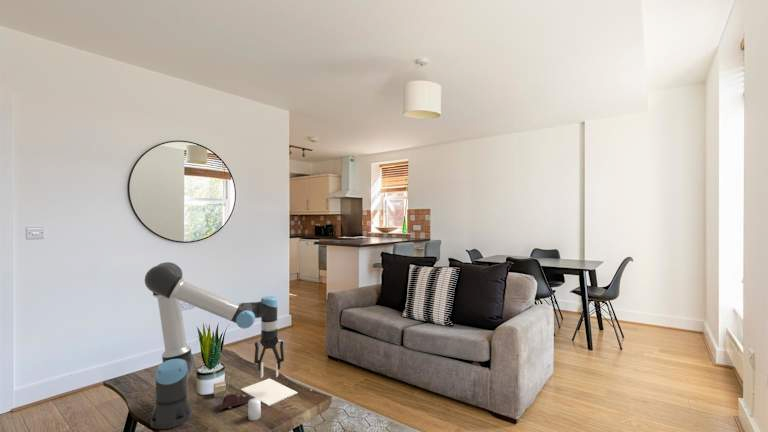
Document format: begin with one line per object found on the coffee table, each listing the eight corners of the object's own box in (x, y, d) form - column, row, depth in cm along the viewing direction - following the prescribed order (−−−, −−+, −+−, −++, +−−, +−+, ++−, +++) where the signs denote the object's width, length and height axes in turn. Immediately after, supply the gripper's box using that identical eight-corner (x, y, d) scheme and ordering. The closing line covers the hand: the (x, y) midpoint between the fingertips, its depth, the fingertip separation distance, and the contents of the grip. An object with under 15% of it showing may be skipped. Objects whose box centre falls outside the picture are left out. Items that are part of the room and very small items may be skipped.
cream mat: (297, 393, 182) (297, 392, 182) (268, 406, 169) (268, 405, 169) (269, 379, 197) (269, 378, 197) (240, 390, 185) (240, 389, 185)
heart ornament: (219, 415, 166) (225, 393, 175) (247, 416, 168) (252, 394, 178) (219, 406, 163) (225, 384, 172) (248, 407, 165) (252, 385, 174)
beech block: (225, 395, 180) (226, 385, 180) (214, 397, 177) (214, 387, 177) (224, 391, 184) (224, 381, 184) (213, 393, 182) (213, 383, 182)
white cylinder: (258, 420, 158) (258, 403, 158) (246, 420, 158) (246, 403, 157) (262, 413, 163) (262, 397, 163) (250, 414, 163) (250, 398, 162)
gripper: (290, 325, 188) (290, 371, 188) (250, 327, 185) (250, 374, 185) (289, 330, 181) (289, 378, 181) (246, 332, 178) (247, 381, 178)
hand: (269, 376), depth 183 cm, fingers open, 6 cm apart
